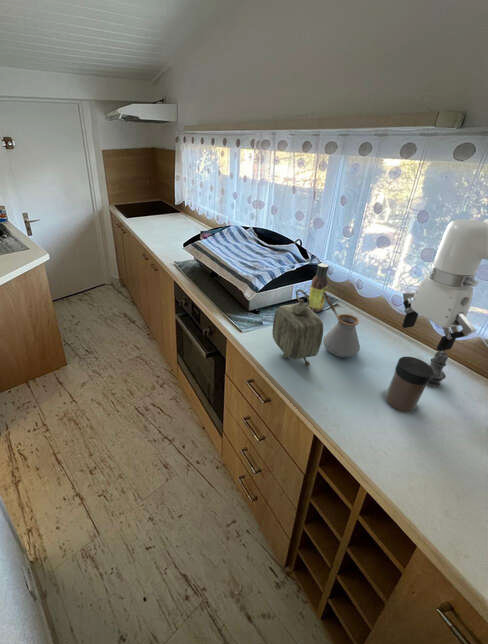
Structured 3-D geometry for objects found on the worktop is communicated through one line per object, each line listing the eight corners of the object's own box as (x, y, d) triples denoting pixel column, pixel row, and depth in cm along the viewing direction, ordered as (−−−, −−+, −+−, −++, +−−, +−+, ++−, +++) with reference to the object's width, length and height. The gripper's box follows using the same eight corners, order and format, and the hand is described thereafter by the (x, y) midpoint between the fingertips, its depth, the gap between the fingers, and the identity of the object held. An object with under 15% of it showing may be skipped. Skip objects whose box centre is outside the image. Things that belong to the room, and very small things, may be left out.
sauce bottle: (322, 313, 126) (332, 269, 116) (306, 311, 128) (315, 267, 118) (322, 305, 131) (331, 263, 122) (306, 303, 133) (315, 261, 124)
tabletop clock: (314, 368, 97) (331, 301, 86) (289, 373, 96) (302, 305, 84) (291, 341, 110) (302, 279, 98) (268, 345, 108) (277, 282, 96)
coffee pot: (365, 359, 101) (378, 321, 94) (333, 363, 100) (343, 325, 93) (329, 323, 120) (337, 289, 113) (302, 325, 118) (308, 292, 111)
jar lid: (423, 367, 83) (426, 359, 82) (434, 387, 77) (438, 379, 75) (391, 362, 85) (394, 354, 84) (400, 381, 79) (403, 373, 77)
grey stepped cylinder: (444, 390, 89) (461, 358, 83) (420, 385, 91) (435, 354, 85) (437, 376, 94) (452, 345, 88) (414, 372, 96) (428, 341, 90)
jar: (409, 394, 88) (425, 361, 82) (419, 414, 82) (436, 380, 76) (381, 389, 90) (395, 356, 84) (389, 408, 84) (403, 374, 78)
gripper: (506, 291, 62) (471, 357, 70) (428, 259, 76) (407, 317, 84) (477, 296, 60) (445, 363, 68) (403, 263, 75) (384, 321, 83)
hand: (424, 337), depth 76 cm, fingers open, 9 cm apart
